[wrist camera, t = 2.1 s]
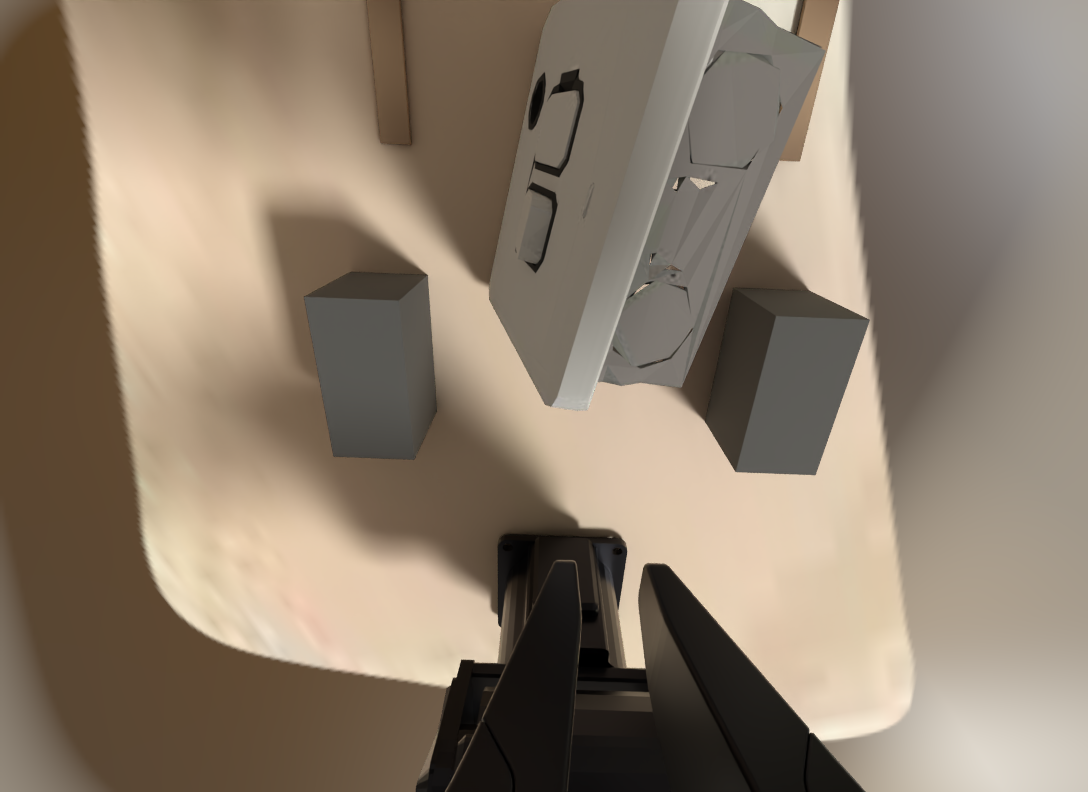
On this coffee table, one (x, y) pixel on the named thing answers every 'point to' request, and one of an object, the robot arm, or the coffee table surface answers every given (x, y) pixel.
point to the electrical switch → (638, 184)
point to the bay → (393, 82)
